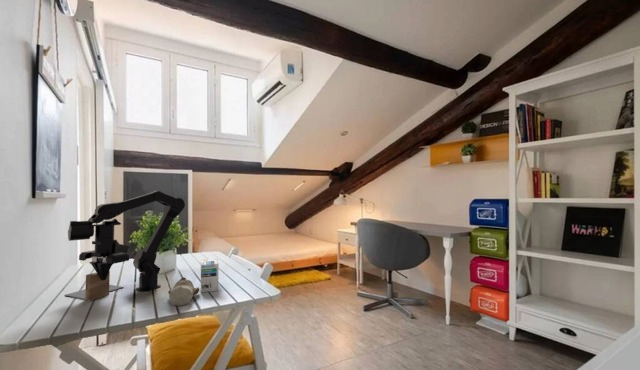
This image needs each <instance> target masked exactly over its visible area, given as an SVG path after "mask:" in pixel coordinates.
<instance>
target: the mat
mask: <svg viewBox="0 0 640 370" xmlns="http://www.w3.org/2000/svg"><path fill="white" fill-rule="evenodd" d="M121 289H124V286H121V285H114V284H109V293H112V292H114V291H115V292H116V291H118V290H121ZM85 291H86V288H84V289H82V290H77V291H74V292H73V291H72V292H71V293H66V294H64V297H67V296H70V297H69V298H73V297H75V298H74V299H78V298H80V299H81V300H84V299H85Z"/></svg>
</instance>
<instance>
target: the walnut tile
mask: <svg viewBox="0 0 640 370" xmlns="http://www.w3.org/2000/svg"><path fill="white" fill-rule="evenodd" d="M110 273H111V271H110V270H109V273H108V275H107V278H106V280H101V279H100V277H99V276H98V274H97V272H96V271H95V272H93V273H88V274H85V289H86V291H85V300H84V301H88V300H90V301H92V299H93V300H95V299H98V298H103V297H105V296H108V295H110V292H109V285H110V279H111V278H110V276H111V275H110Z"/></svg>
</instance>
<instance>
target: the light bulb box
mask: <svg viewBox="0 0 640 370" xmlns="http://www.w3.org/2000/svg"><path fill="white" fill-rule="evenodd" d="M216 291H219V262H218V258H213V259H201V260H200V293H207V292H216Z"/></svg>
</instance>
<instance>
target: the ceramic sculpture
mask: <svg viewBox="0 0 640 370" xmlns="http://www.w3.org/2000/svg"><path fill="white" fill-rule="evenodd" d="M200 291H201V288H200V287H199V286H198V287H195V285H194V284H193V282H192V281H191V280H190V279H187V278H186V277H181V278H180V279H179V280H177V281H176V282H175V284H174V285H173V287H172V289H171V290H168V291H167V293H168V298H169V301H170V303H171V305H173V306H176V307H177V306H178V307H182V306H185V305H188V304H190V303H191V301H192V299H193V296H196V295H197V294H199V292H200Z"/></svg>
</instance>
